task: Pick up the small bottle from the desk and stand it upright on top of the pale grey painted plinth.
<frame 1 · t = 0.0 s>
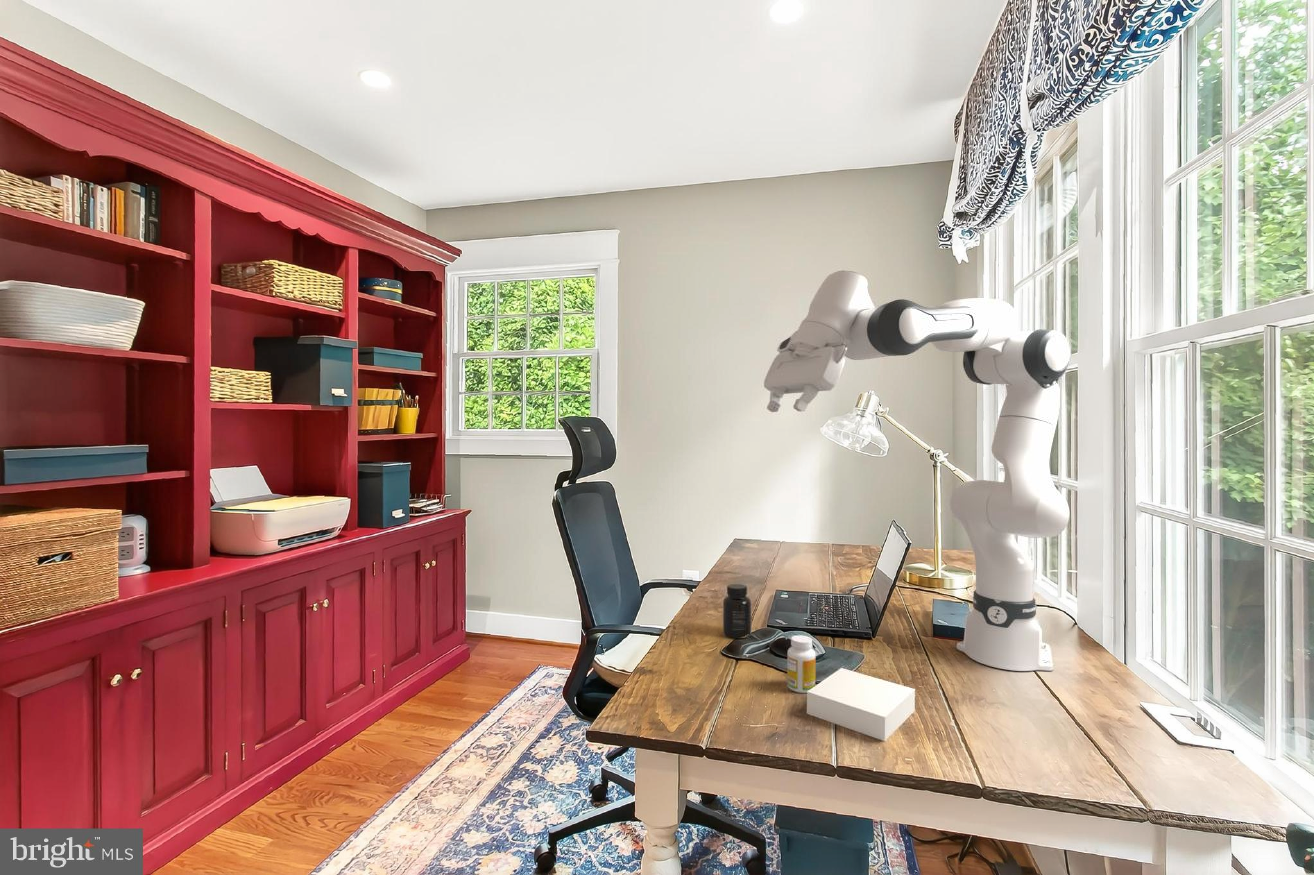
hand: (784, 410, 114), 54 cm above the table, tool tilted 30°, fingers open, 8 cm apart
supplement bottle: (736, 635, 149), on the table
plinth: (861, 712, 109), on the table
supplement bottle 2: (801, 688, 119), on the table
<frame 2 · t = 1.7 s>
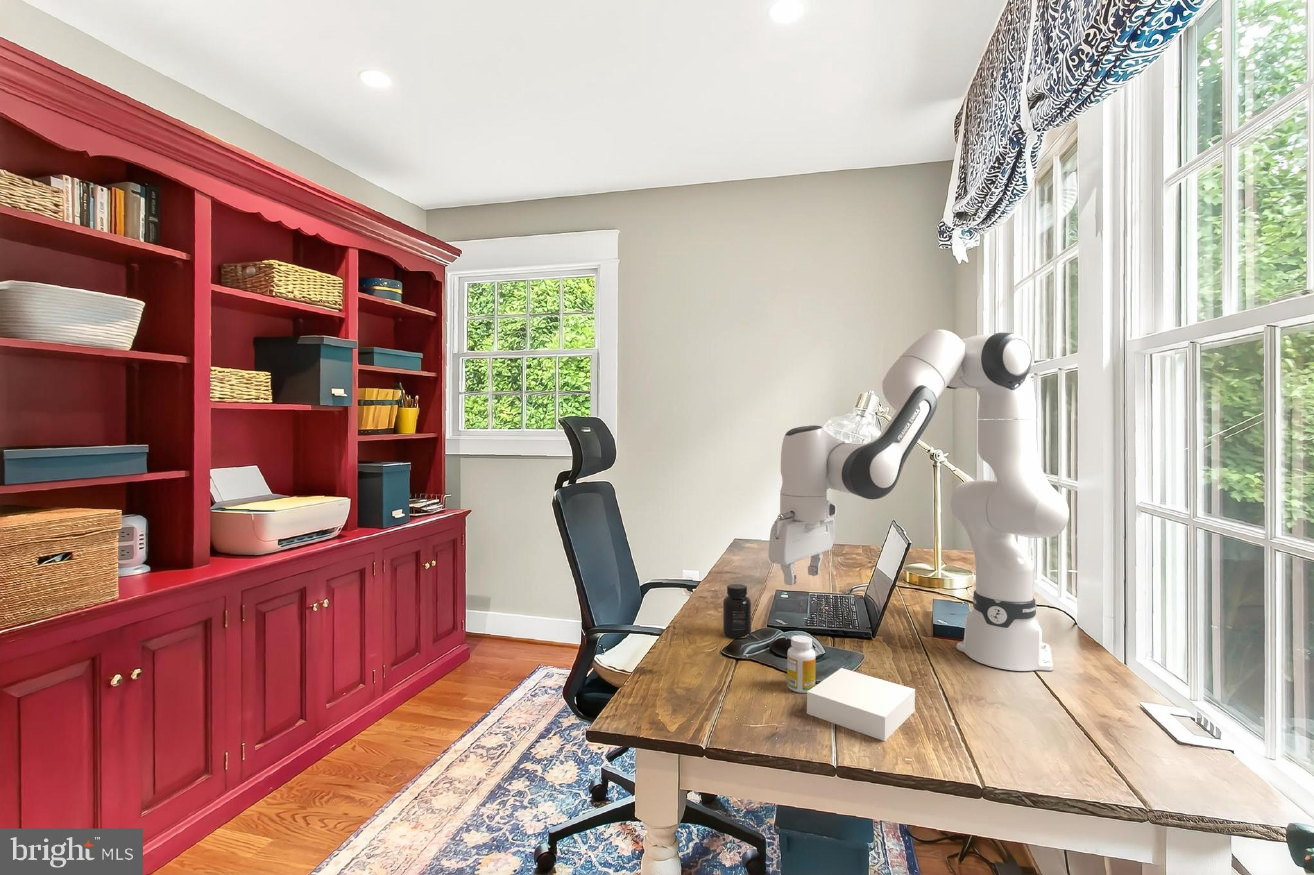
hand: (802, 579, 119), 21 cm above the table, tool pointing down, fingers open, 8 cm apart
nothing on the table moved.
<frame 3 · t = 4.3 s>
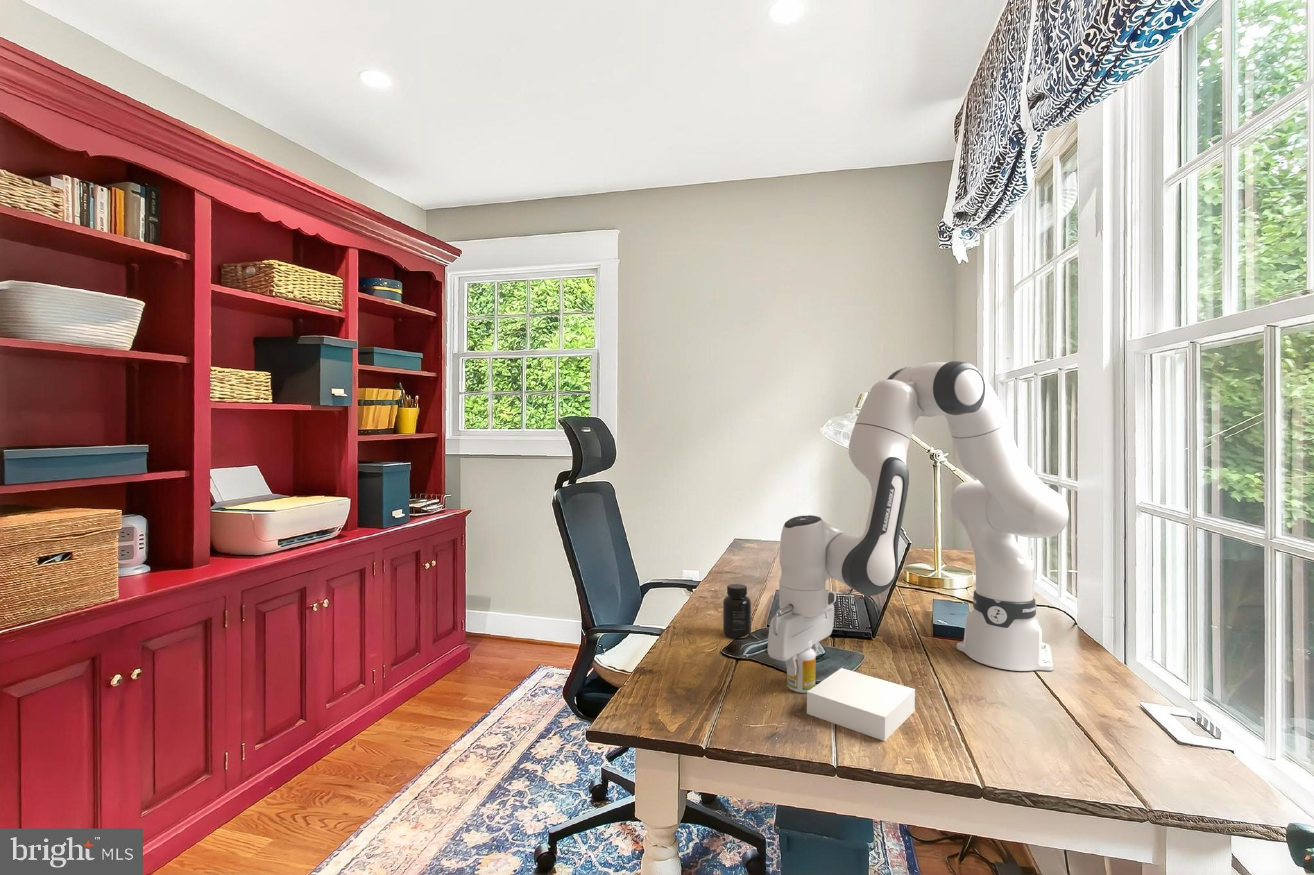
hand: (801, 669, 119), 4 cm above the table, tool pointing down, fingers closed on supplement bottle 2, 5 cm apart
supplement bottle 2: (801, 688, 119), on the table, touching gripper
everything else where it was.
when the fingers open (9 cm above the table, at t = 10.1 s): supplement bottle 2 drops 1 cm, resting on plinth.
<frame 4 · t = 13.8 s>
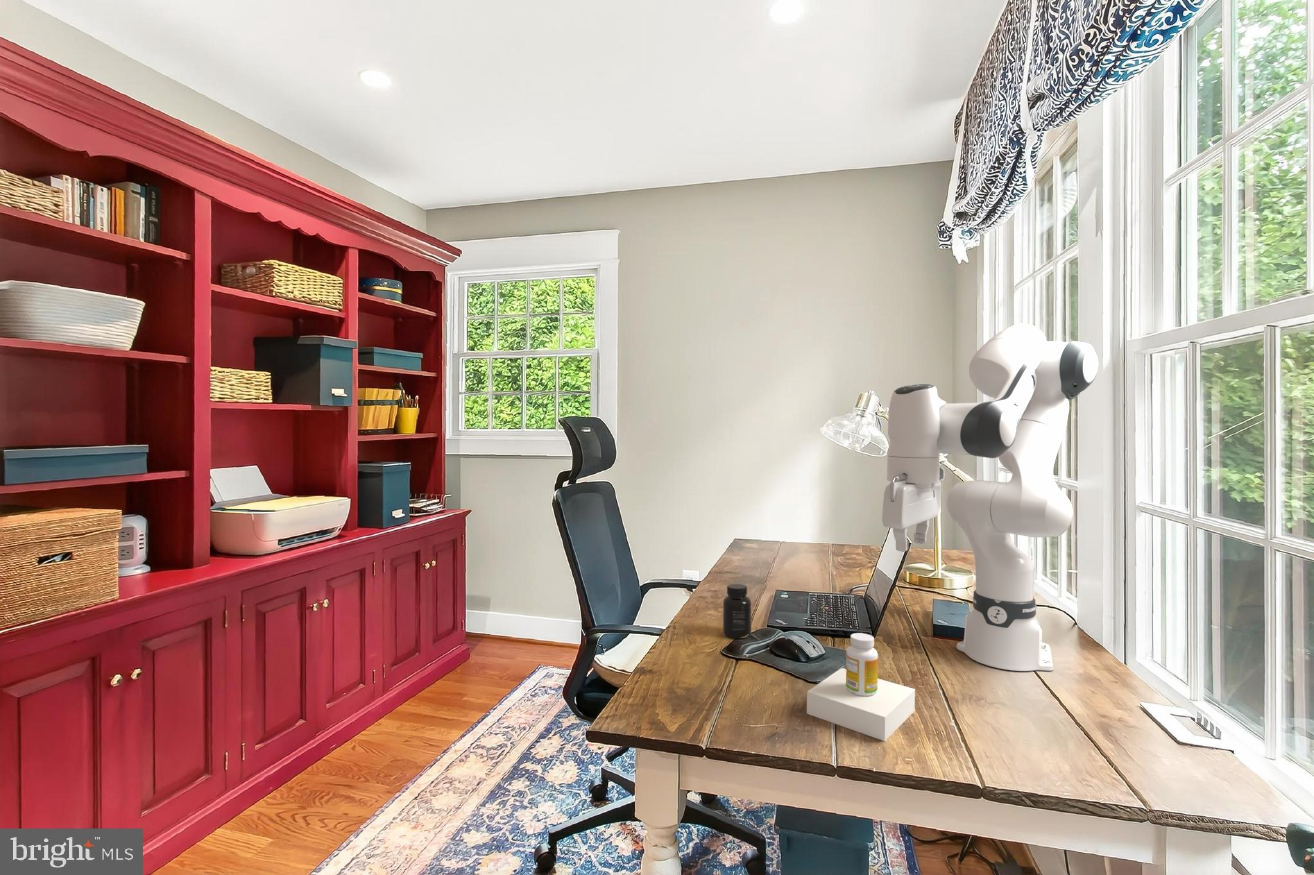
hand: (911, 546, 113), 29 cm above the table, tool pointing down, fingers open, 8 cm apart
supplement bottle 2: (861, 691, 109), point 4 cm above the table, touching plinth
everything else where it was.
at the end: supplement bottle 2 inside the target area on the plinth (0.1 cm from its centre), point 3.8 cm above the plinth's base; supplement bottle 2 tilted 0°; the gripper is holding nothing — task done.
